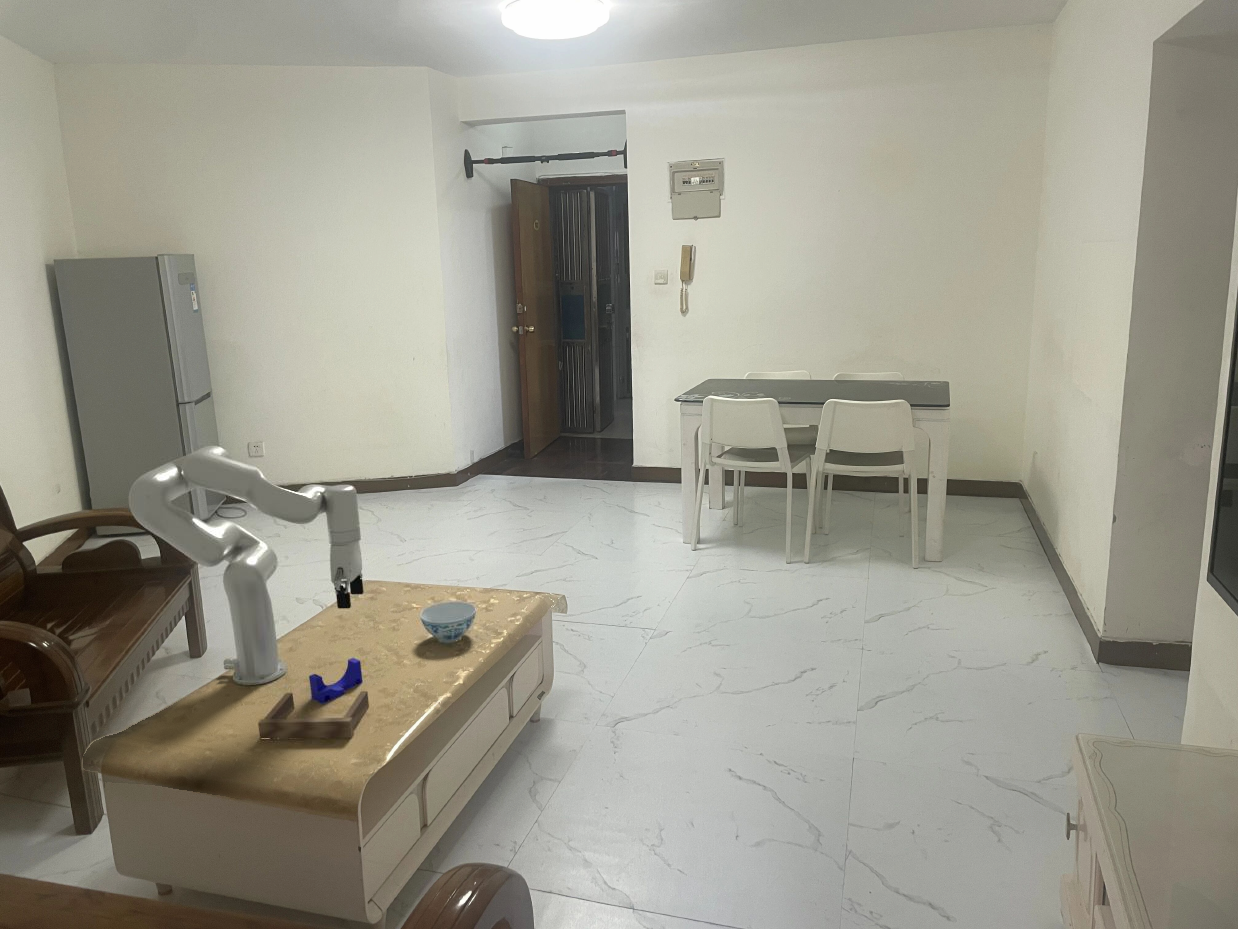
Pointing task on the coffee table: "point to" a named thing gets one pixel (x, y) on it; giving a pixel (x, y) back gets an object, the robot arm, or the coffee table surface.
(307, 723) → the dock bay
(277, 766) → the coffee table surface
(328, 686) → the cable clip
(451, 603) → the chinaware
